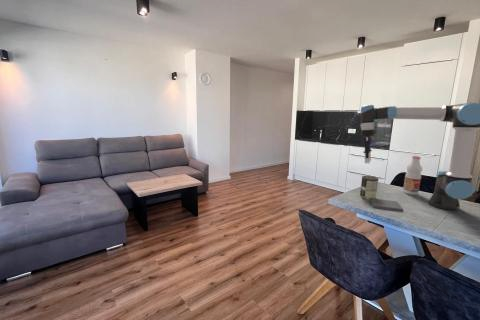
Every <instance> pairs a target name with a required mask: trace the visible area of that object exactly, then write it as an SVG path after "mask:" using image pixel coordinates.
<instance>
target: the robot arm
mask: <svg viewBox="0 0 480 320" xmlns="http://www.w3.org/2000/svg"><path fill="white" fill-rule="evenodd" d="M376 120H378V121H379V120H423V121H424V120H425V121H427V120H432V121H434V120H436V121H439V122H444V123H445V122H447V123H452V129H454V138H453V145H452V151H451V156H450V157H451V158H450V164H449V169H448V170H439V171H438V172H437V174H436V181H435V186H434V191H433V194H432V195H431V196H430V198H429V199H428V204H429V205H431V206H432V207H435V208H437V209H441V210H446V211H459V210H460V208H461V206H460V201H459V200H466V199H468V198H470V197H472V195H473V194H474V192H475V188H474V185H473V184H472V183H473V176H472V174H471V166H472V161H473V155H474V148H475V143H476V138H477V132H478V131H479V130H480V103H479V102H472V101H471V102H466V103H458V104H452V105H451V104H450V105H442V106H441V107H440V106H439V107H437V106H436V107H435V106H434V107H433V106H432V107H431V106H429V107H428V106H426V107H425V106H424V107H408V106H407V107H403V106H402V107H397V106H396V105H392V106H383V107H375V106H374V105H373V104H370V105H366V104H365V105H363V106H361V107H360V125H359V127H360V129H361V132H360V136H361V137H364V138H363V142H364V143H363V144H364V150H363V154H364V164H370V163H371V162H372V161H371V160H372V158H371V157H372V155H371V152H372V151H373V150H372V149H371V144H372V138H371V136H374V135H375V130H374V129H375V121H376Z"/></svg>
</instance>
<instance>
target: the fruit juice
mask: <svg viewBox="0 0 480 320" xmlns="http://www.w3.org/2000/svg"><path fill="white" fill-rule="evenodd" d="M411 158H412V159H411V161H410V163H408V165H407V166H406V172H405V176H404V183H403V187H402V188H403V189H402V193H404V194H406V195H412V196H417V195H418V194H419V190H420V185H421V180H422V171H423V167H422V165H421V163H420V162H421V161H420V160H421V158H422V157H421V156H418V155H417V156H416V155H413V156H412V157H411Z"/></svg>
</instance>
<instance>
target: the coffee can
mask: <svg viewBox="0 0 480 320" xmlns="http://www.w3.org/2000/svg"><path fill="white" fill-rule="evenodd" d="M378 185H379V178H378V177H375V176H371V175H363V176H361V183H360V190H359V191H360V192H359V196H360V198H362V197H363V199H367V200H369V199H370V198H374V199H377V192H378Z"/></svg>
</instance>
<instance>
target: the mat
mask: <svg viewBox="0 0 480 320" xmlns="http://www.w3.org/2000/svg"><path fill="white" fill-rule="evenodd" d="M368 200H369V202H370V204H371V206H372V208H375V209H381V210H389V211H396V212H404V208H403V206H401V204H400V203H399V202H398V201H396V200H390V199H382V198H375V199H374V198H370V199H368Z"/></svg>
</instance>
